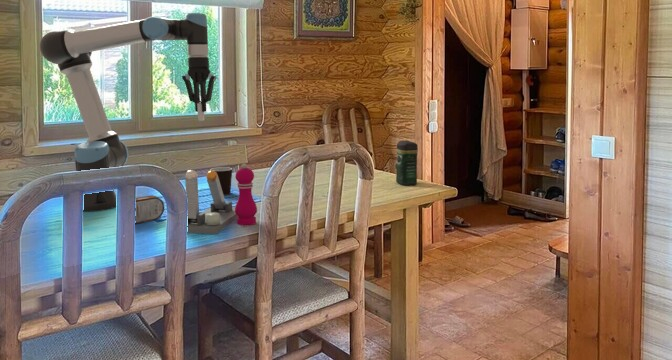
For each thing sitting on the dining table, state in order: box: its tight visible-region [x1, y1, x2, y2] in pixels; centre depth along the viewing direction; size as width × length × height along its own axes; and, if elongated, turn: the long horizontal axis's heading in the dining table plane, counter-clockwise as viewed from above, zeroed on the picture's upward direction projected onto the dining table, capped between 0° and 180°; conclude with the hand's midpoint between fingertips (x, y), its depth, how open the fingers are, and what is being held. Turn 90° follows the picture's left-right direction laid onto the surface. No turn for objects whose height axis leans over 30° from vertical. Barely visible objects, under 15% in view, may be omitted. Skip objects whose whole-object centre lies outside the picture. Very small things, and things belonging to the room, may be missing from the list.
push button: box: [206, 213, 220, 225], centre depth 191 cm, size 4×4×3 cm
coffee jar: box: [395, 140, 419, 186], centre depth 259 cm, size 10×8×19 cm
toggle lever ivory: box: [184, 169, 200, 223], centre depth 191 cm, size 4×4×17 cm
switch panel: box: [187, 201, 238, 235], centre depth 201 cm, size 12×26×5 cm, turn 170°
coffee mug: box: [209, 166, 233, 196], centre depth 244 cm, size 12×9×10 cm
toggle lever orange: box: [206, 170, 227, 211], centre depth 203 cm, size 4×4×17 cm
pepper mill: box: [235, 163, 258, 226], centre depth 198 cm, size 7×7×20 cm
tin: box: [135, 195, 165, 224], centre depth 202 cm, size 15×3×8 cm, turn 133°
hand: (201, 120), depth 228 cm, fingers closed
